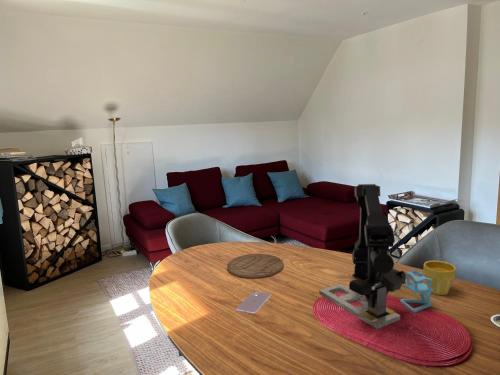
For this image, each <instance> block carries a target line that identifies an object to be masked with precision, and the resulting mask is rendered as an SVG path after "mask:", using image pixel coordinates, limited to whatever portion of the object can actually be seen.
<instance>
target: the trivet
mask: <svg viewBox="0 0 500 375" xmlns="http://www.w3.org/2000/svg"><path fill="white" fill-rule="evenodd" d="M226 267H227V268H226V269H227V272H228V274H230V275H232V276H233V277H236V278H239V279H245V280H259V279H266V278H271V277H274V276H276V275H278V274H280V273H281V272H282V271H283V270H284V267H285V266H284V261H283V260H282V259H281V258H280V257H278V256H276V255H273V254H268V253H249V254H243V255H239V256H236V257H234V258H232V259H230V260H229V261H228V262H227V266H226Z"/></svg>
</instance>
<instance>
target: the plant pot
mask: <svg viewBox="0 0 500 375" xmlns="http://www.w3.org/2000/svg"><path fill="white" fill-rule="evenodd" d="M422 270H423V274H424V275H425V277H427V278H430V279H432V282H431V284H430V287H431V288H432V289H433V292H431V294H434V295H438V296H446V295H448V294H449V291H450V288H451V286H452V281H453V279H455V277H456V272H457V268H456V266H455V265H454V264H451V263H450V262H446V261H442V260H441V261H440V260H427V261H425V262H424V264H423V269H422ZM428 283H429V281H426V285H427V286H428Z"/></svg>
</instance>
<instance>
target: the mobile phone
mask: <svg viewBox="0 0 500 375" xmlns="http://www.w3.org/2000/svg"><path fill="white" fill-rule="evenodd" d="M270 297H271V293H267V292H262V291H258V290H257V291H255V290H254V291H252V292H251V293H250V294H249V295H248V296H247V297H246V298H245V299H244V300H242V302H241V303H240V304H239V305H238V306H237V307H236V311H237V312H242V313H248V314H251V315H252V314H256V313H257V312H258V311H259V310H260V309H261V308H262V307H263V305H265V303H266V302H267V301H268V300H269V299H270Z"/></svg>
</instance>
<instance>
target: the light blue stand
mask: <svg viewBox="0 0 500 375" xmlns="http://www.w3.org/2000/svg"><path fill="white" fill-rule="evenodd" d="M405 273H406V283H405V284H403V286H404V287H406V288H407V289H408V290H409V291H411V292H412V293H413V294H415V295H416V294H418V295H419V296H420V298H421V299H413V298H411V299H410V298H409V299H408V298H401V299H400V303H401V304H402V305H403V304H404V305H403V306H404V307H406V308H407V310H409V311H410V312H412V313H413V312H414V313H417V312H421V311H422V310H425V309H427V308H430V307H432V302H431V301H432V300H431V298H432V297H431V294H432V293H431V292H433V289H432V288H431V287H430V284H431V282H432V279H430V278H427V277H426V276H424V275H423V274H424V272H420V271H416V270H410V271H409V272H405ZM417 275H419V276H417ZM410 279H411V280H412V281H413V282H410ZM427 281H429V283H428V286H427V283H425V282H427ZM408 303H409V304H410V303H412V304H422V305H420V306H418V307H415V308H413V307H412V306H410V305H409V304H408Z"/></svg>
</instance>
